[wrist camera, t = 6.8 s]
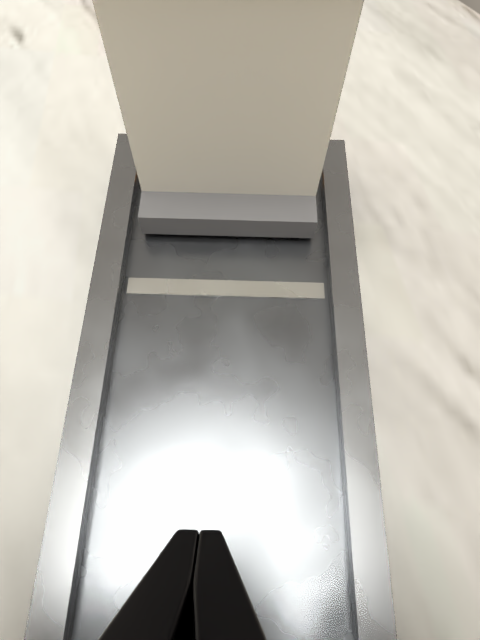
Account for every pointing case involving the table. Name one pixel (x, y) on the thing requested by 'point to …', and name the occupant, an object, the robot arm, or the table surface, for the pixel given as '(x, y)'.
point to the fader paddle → (228, 108)
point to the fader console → (221, 424)
